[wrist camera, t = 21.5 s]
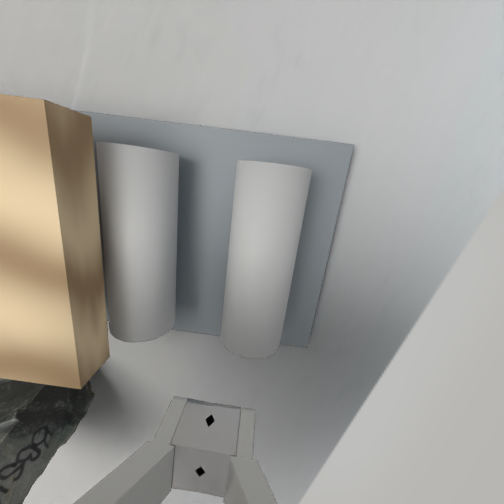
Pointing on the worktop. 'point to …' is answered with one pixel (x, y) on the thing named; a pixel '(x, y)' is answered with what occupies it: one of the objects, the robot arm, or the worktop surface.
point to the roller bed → (214, 230)
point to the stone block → (34, 430)
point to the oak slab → (49, 246)
